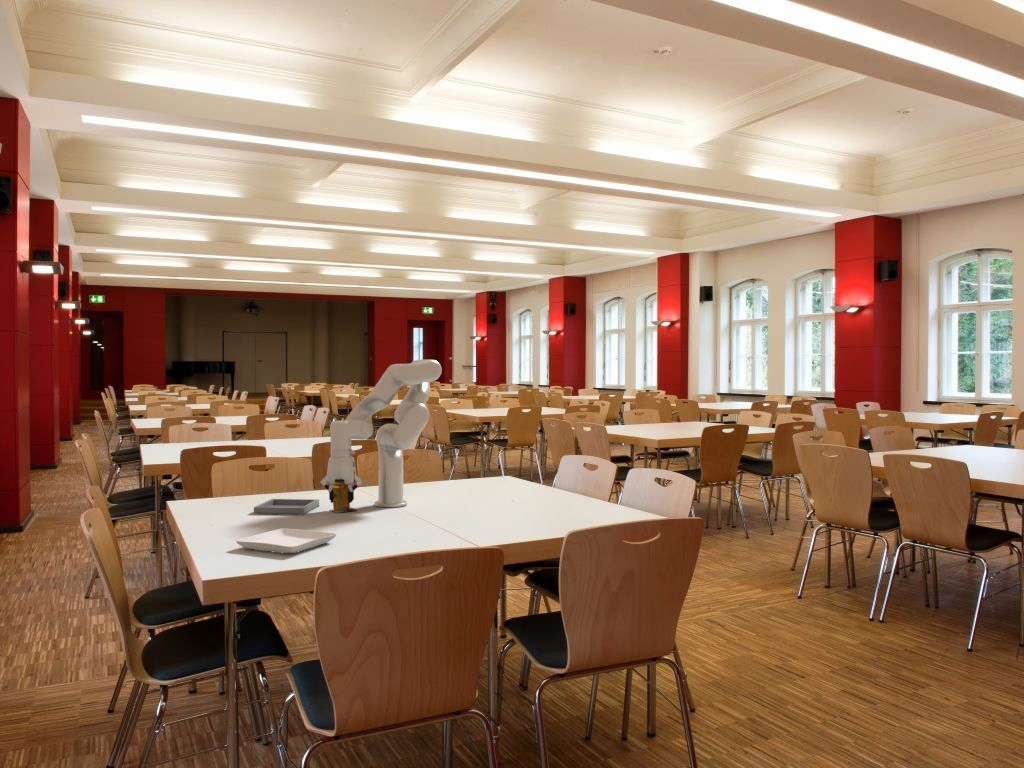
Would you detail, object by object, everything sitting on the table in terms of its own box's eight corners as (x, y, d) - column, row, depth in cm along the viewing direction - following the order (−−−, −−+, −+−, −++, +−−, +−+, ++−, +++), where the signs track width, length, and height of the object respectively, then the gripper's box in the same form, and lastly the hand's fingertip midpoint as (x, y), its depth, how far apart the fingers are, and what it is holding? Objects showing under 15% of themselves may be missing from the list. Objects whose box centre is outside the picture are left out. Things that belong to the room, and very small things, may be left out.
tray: (272, 505, 296) (272, 498, 296) (319, 506, 296) (319, 499, 296) (253, 514, 278) (253, 507, 278) (303, 514, 277) (303, 508, 277)
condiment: (329, 510, 287) (328, 478, 286) (350, 507, 292) (349, 475, 291) (337, 513, 281) (336, 480, 280) (358, 510, 286) (358, 478, 286)
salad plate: (281, 537, 242) (281, 526, 242) (338, 543, 234) (338, 532, 234) (233, 551, 222) (233, 539, 222) (293, 559, 214) (293, 546, 214)
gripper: (366, 452, 289) (366, 500, 289) (321, 452, 290) (321, 500, 290) (361, 455, 281) (362, 504, 282) (315, 455, 282) (315, 503, 283)
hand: (341, 501), depth 286 cm, fingers closed on condiment, 6 cm apart
